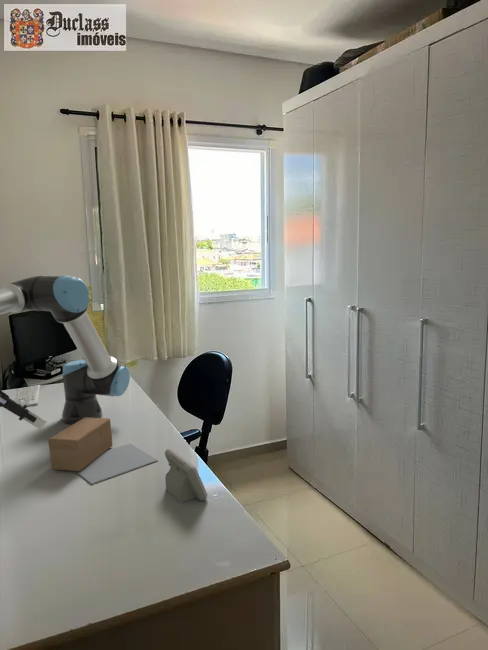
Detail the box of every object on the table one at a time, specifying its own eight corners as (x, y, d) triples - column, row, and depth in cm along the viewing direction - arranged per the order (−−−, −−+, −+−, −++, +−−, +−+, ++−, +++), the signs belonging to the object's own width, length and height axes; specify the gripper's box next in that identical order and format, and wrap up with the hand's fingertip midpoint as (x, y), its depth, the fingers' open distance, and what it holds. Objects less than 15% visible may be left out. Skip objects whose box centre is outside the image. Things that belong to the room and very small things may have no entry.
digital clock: (209, 502, 130) (208, 465, 128) (176, 510, 127) (174, 471, 125) (192, 476, 145) (190, 442, 143) (162, 482, 141) (160, 447, 140)
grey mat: (129, 444, 168) (129, 443, 168) (157, 461, 155) (157, 460, 155) (67, 464, 154) (66, 463, 154) (91, 484, 141) (91, 483, 141)
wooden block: (76, 440, 146) (110, 417, 165) (47, 438, 148) (84, 416, 167) (79, 471, 147) (113, 446, 166) (51, 469, 150) (87, 444, 169)
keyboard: (17, 390, 235) (17, 386, 234) (40, 388, 238) (40, 384, 238) (11, 409, 208) (11, 405, 207) (37, 406, 211) (37, 402, 211)
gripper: (-46, 386, 128) (26, 429, 142) (-34, 398, 119) (42, 443, 132) (-26, 363, 131) (43, 408, 144) (-13, 372, 121) (60, 419, 135)
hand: (42, 424), depth 138 cm, fingers closed
